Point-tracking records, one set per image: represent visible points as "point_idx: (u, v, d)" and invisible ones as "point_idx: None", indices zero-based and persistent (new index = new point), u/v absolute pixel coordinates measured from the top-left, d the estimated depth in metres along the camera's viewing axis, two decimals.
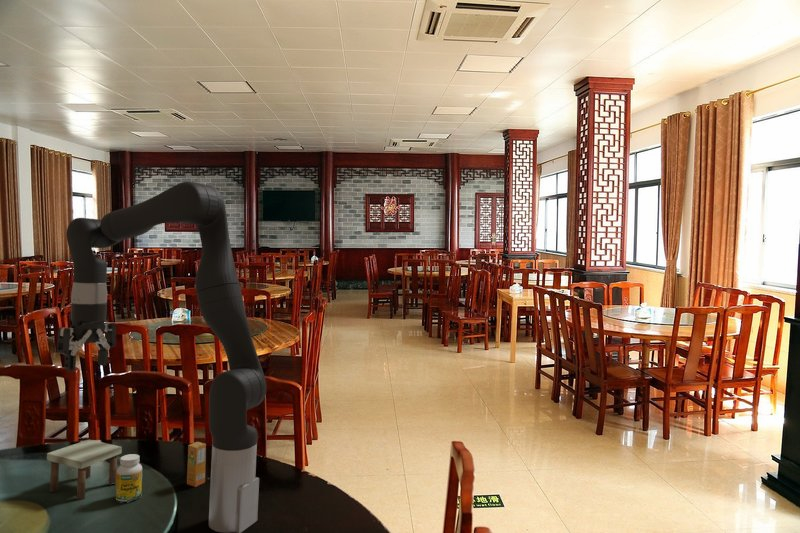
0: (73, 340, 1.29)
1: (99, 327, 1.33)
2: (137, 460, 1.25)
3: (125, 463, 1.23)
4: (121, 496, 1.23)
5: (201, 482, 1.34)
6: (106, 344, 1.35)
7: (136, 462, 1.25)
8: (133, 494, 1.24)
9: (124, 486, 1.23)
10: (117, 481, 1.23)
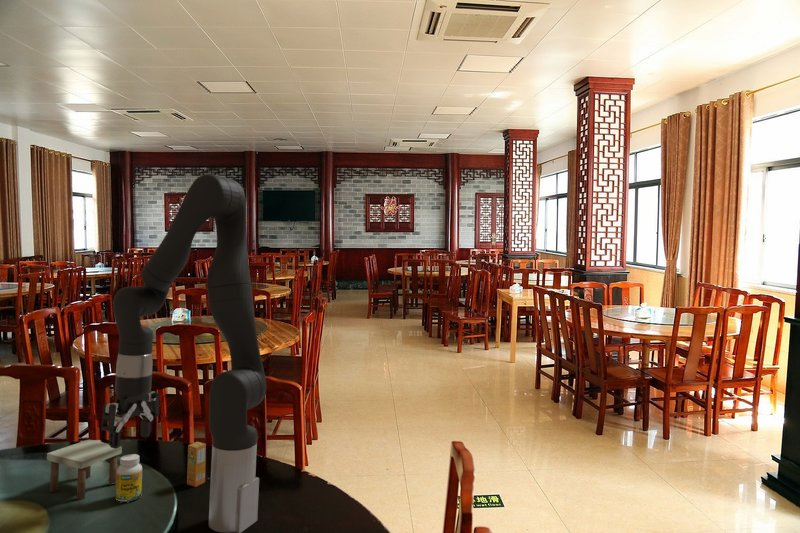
0: (117, 414, 1.23)
1: (143, 399, 1.27)
2: (137, 460, 1.25)
3: (125, 463, 1.23)
4: (121, 496, 1.23)
5: (200, 482, 1.34)
6: (150, 415, 1.29)
7: (136, 462, 1.25)
8: (133, 494, 1.24)
9: (124, 486, 1.23)
10: (117, 481, 1.23)
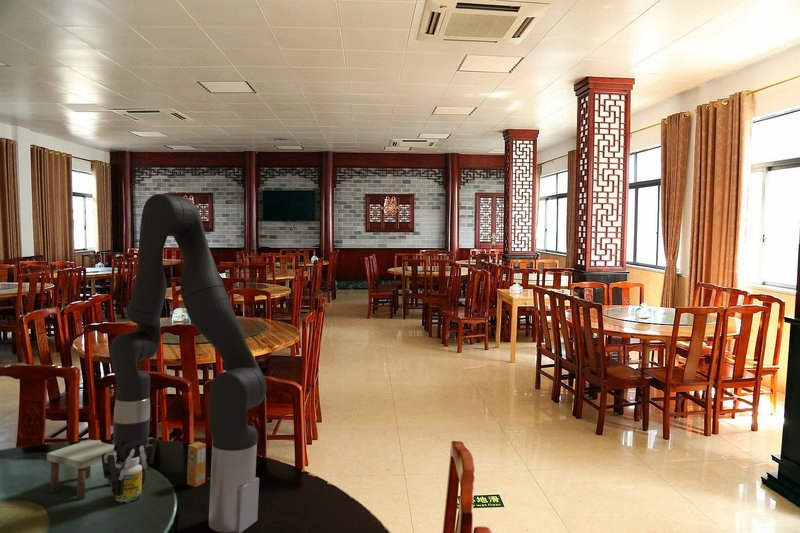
0: (117, 460, 1.24)
1: (142, 442, 1.27)
2: (137, 460, 1.25)
3: None
4: (121, 495, 1.23)
5: (201, 482, 1.34)
6: (144, 463, 1.28)
7: (136, 462, 1.25)
8: (133, 494, 1.24)
9: (124, 486, 1.23)
10: None
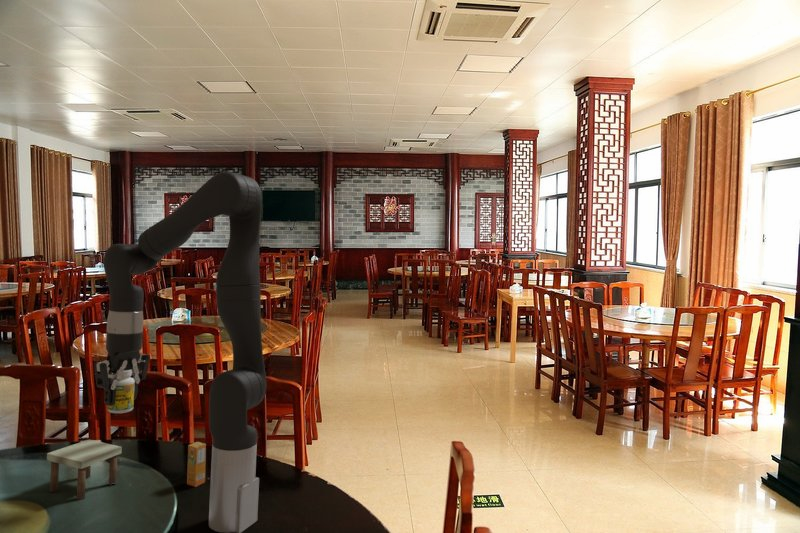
0: (110, 372, 1.24)
1: (134, 355, 1.28)
2: (129, 372, 1.26)
3: None
4: (113, 406, 1.24)
5: (201, 482, 1.34)
6: (136, 378, 1.28)
7: (129, 374, 1.25)
8: (125, 406, 1.24)
9: (116, 396, 1.23)
10: None
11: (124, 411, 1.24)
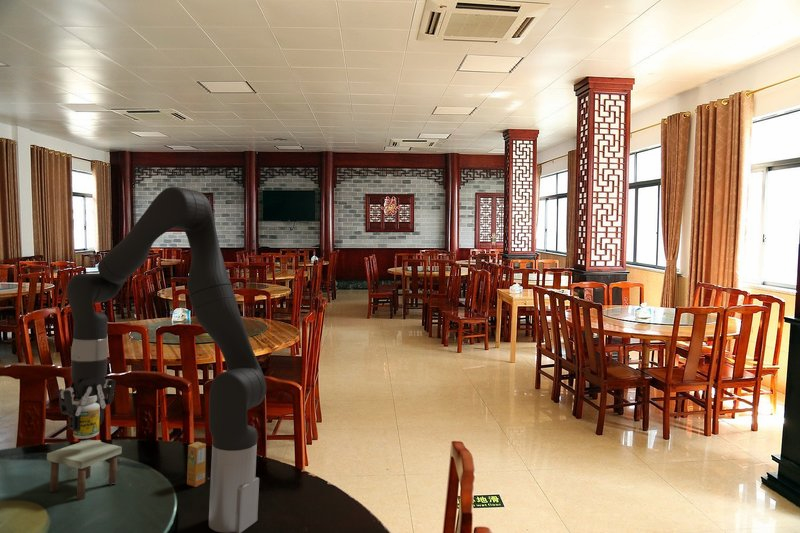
0: (75, 398, 1.28)
1: (99, 381, 1.31)
2: (94, 398, 1.29)
3: None
4: (78, 431, 1.27)
5: (201, 482, 1.34)
6: (102, 403, 1.32)
7: (93, 400, 1.29)
8: (90, 431, 1.28)
9: (81, 422, 1.27)
10: None
11: (89, 436, 1.28)
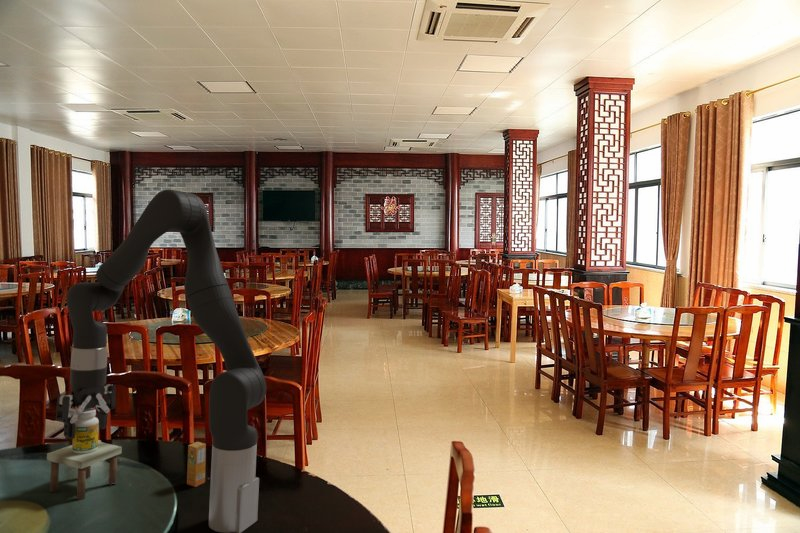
0: (72, 406, 1.27)
1: (99, 391, 1.31)
2: (93, 413, 1.29)
3: (81, 415, 1.27)
4: (77, 447, 1.27)
5: (201, 482, 1.34)
6: (105, 407, 1.33)
7: (92, 415, 1.29)
8: (89, 446, 1.28)
9: (80, 437, 1.27)
10: None
11: (88, 451, 1.28)
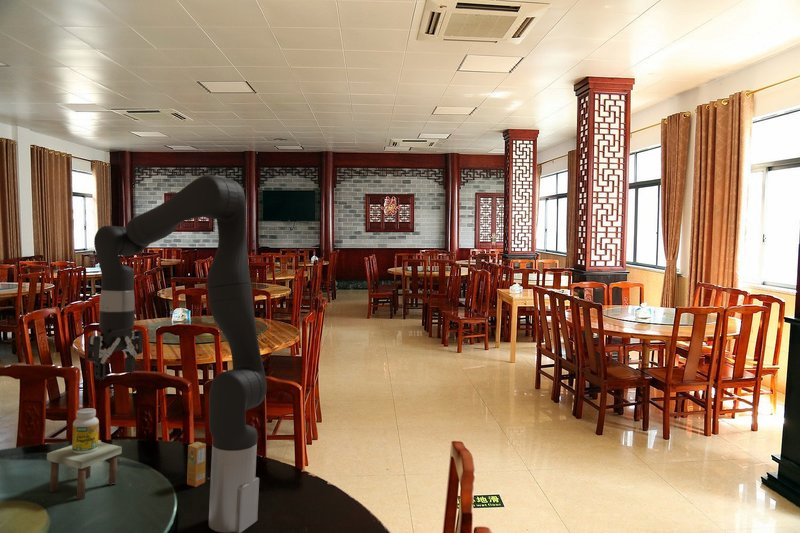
0: (102, 348, 1.29)
1: (127, 335, 1.33)
2: (93, 413, 1.29)
3: (81, 415, 1.27)
4: (77, 447, 1.27)
5: (201, 482, 1.34)
6: (133, 351, 1.35)
7: (92, 415, 1.29)
8: (89, 446, 1.28)
9: (79, 437, 1.27)
10: (73, 433, 1.27)
11: (88, 451, 1.28)
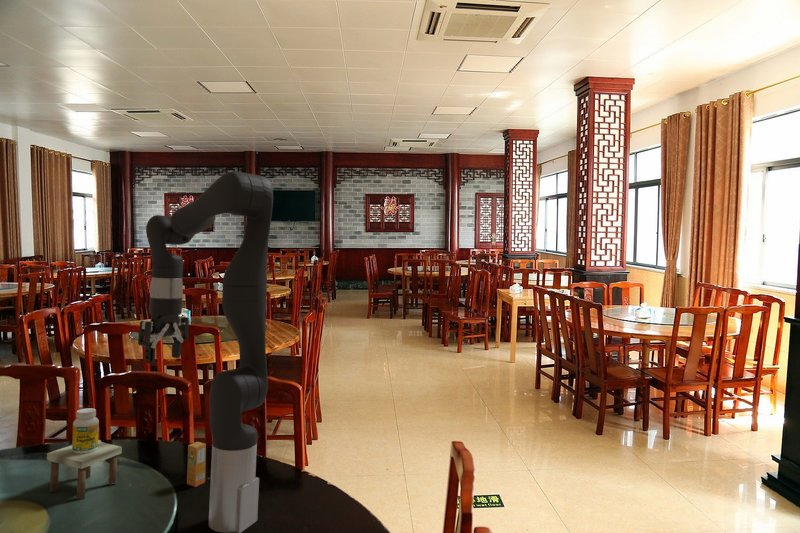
0: (152, 333, 1.34)
1: (175, 321, 1.37)
2: (93, 413, 1.29)
3: (81, 415, 1.27)
4: (77, 447, 1.27)
5: (201, 482, 1.34)
6: (180, 337, 1.39)
7: (92, 415, 1.29)
8: (89, 446, 1.28)
9: (80, 437, 1.27)
10: (73, 433, 1.27)
11: (88, 451, 1.28)
